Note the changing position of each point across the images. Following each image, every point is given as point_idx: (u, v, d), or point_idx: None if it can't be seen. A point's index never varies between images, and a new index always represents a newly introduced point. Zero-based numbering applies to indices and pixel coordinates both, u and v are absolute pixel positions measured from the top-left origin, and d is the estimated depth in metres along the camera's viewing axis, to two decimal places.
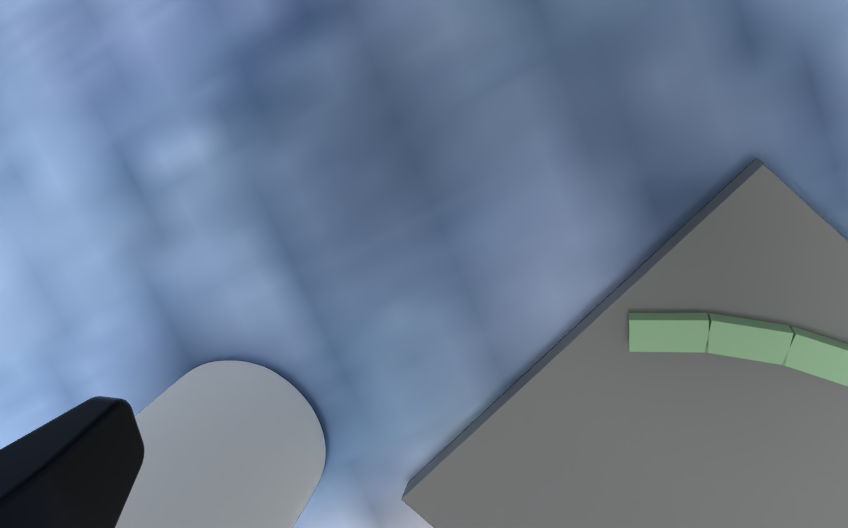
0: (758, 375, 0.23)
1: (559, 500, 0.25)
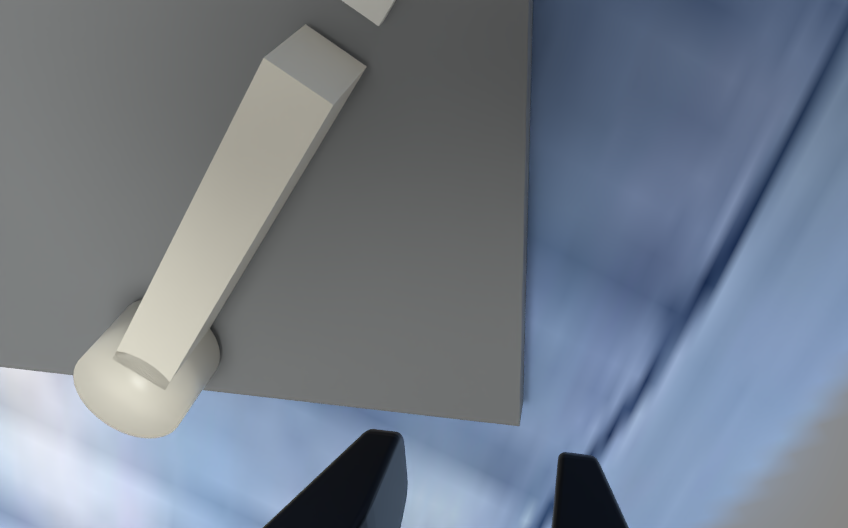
0: None
1: None
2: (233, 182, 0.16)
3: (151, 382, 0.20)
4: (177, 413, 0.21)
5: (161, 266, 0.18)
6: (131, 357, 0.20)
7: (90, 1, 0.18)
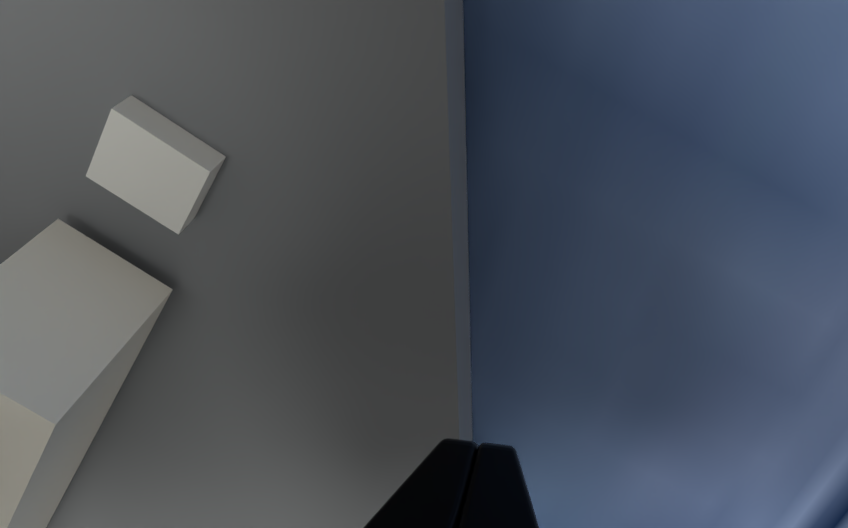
0: None
1: None
2: None
3: None
4: None
5: None
6: None
7: None
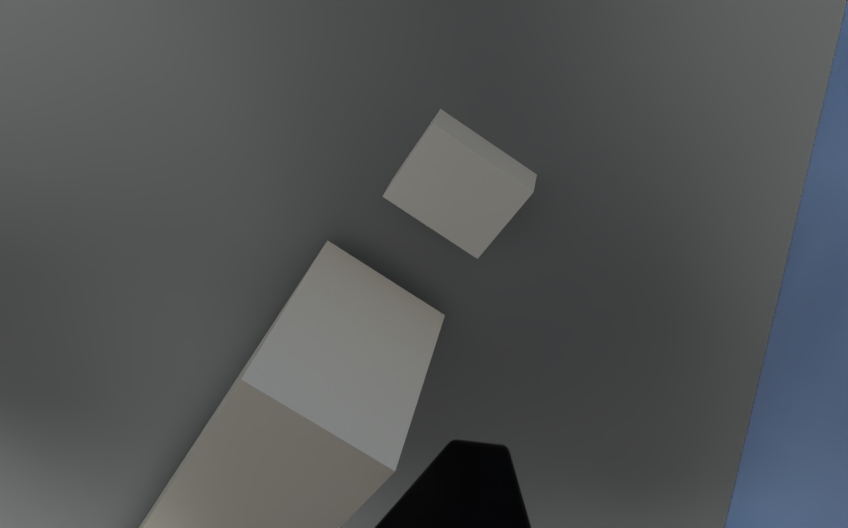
0: None
1: None
2: None
3: None
4: None
5: None
6: None
7: None
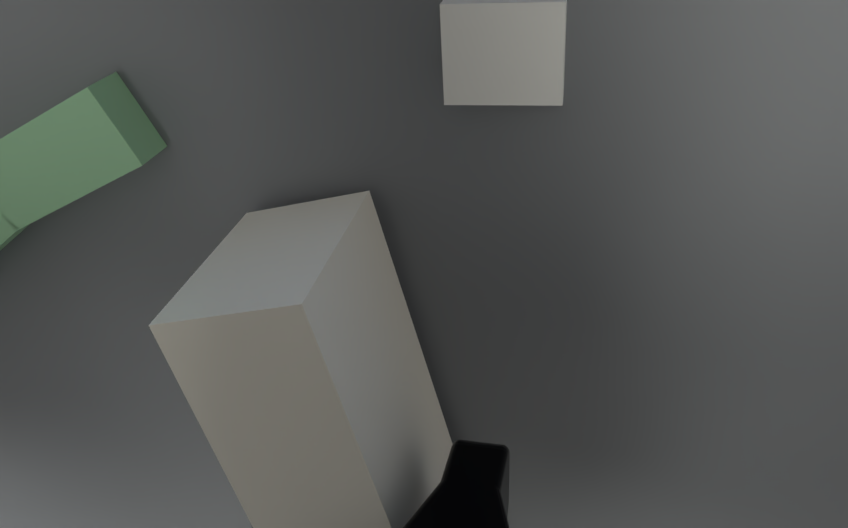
0: (69, 261, 0.10)
1: None
2: None
3: None
4: None
5: None
6: None
7: (535, 266, 0.09)
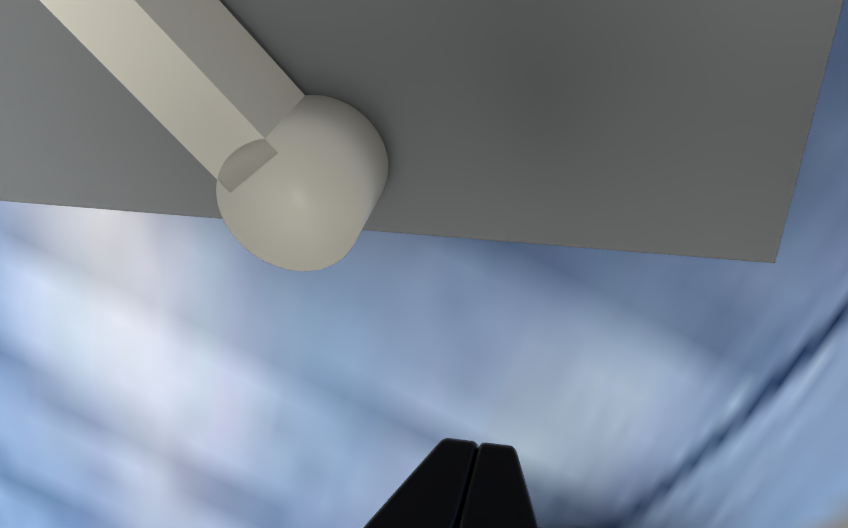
0: None
1: (46, 60, 0.18)
2: None
3: (265, 164, 0.16)
4: (317, 158, 0.15)
5: (91, 49, 0.15)
6: (226, 167, 0.16)
7: None
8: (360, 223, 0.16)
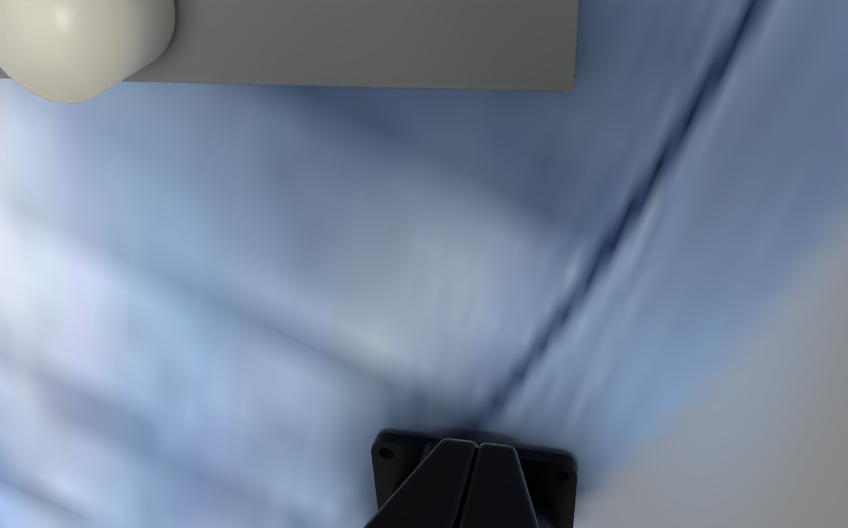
0: None
1: None
2: None
3: None
4: None
5: None
6: None
7: None
8: (118, 41, 0.15)
